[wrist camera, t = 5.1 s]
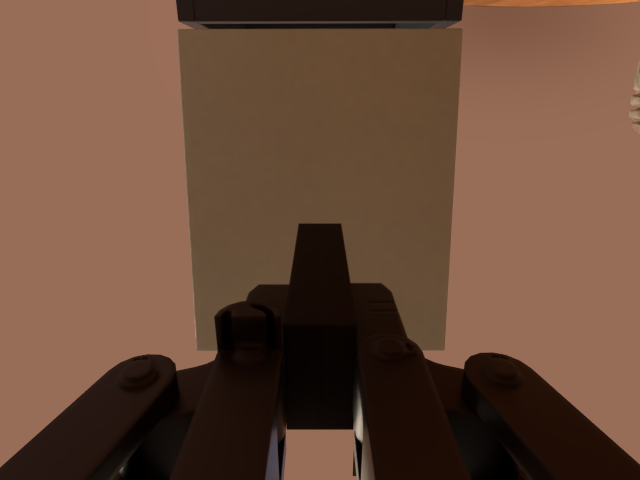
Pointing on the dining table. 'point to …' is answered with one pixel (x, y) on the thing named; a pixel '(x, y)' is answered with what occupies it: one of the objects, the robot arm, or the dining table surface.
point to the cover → (321, 160)
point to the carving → (636, 103)
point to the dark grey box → (319, 14)
